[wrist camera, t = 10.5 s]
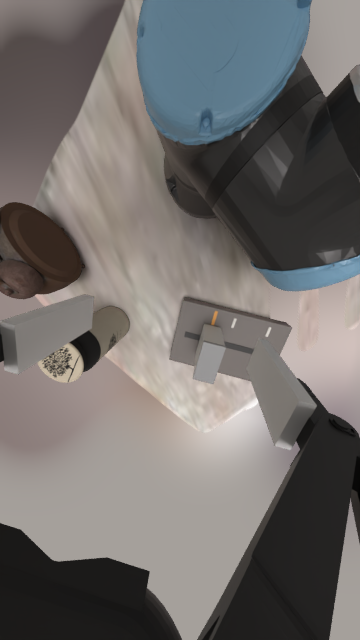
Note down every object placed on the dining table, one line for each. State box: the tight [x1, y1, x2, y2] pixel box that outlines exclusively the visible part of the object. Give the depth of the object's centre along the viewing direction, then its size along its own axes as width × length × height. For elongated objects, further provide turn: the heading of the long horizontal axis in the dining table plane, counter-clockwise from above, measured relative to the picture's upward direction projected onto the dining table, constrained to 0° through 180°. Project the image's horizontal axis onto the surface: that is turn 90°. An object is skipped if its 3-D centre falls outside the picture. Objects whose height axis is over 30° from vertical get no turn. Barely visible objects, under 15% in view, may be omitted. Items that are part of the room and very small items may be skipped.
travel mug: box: [37, 306, 129, 383], centre depth 37 cm, size 8×8×18 cm
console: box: [169, 298, 292, 381], centre depth 41 cm, size 22×14×3 cm, turn 77°
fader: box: [193, 324, 226, 384], centre depth 36 cm, size 4×7×9 cm, turn 167°
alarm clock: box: [0, 202, 85, 299], centre depth 32 cm, size 15×7×20 cm, turn 25°
